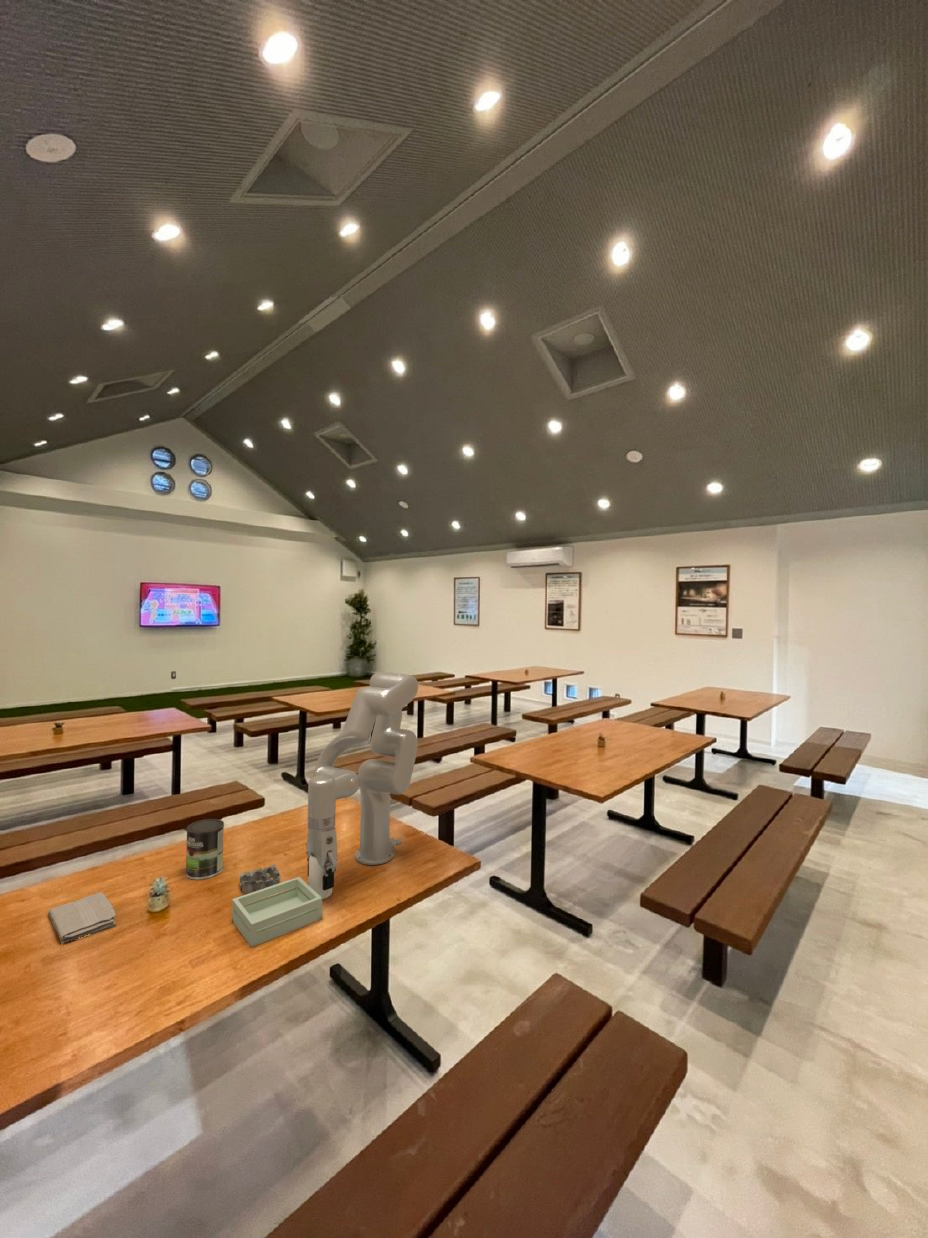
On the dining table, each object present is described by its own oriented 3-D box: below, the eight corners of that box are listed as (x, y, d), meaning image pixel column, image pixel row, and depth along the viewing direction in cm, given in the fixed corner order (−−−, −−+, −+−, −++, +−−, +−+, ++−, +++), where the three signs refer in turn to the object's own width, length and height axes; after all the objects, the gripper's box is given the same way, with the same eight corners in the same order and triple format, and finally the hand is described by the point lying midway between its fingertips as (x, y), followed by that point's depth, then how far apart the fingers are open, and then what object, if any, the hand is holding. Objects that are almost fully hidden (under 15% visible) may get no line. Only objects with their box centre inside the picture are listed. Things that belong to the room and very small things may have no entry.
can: (311, 888, 151) (311, 847, 151) (333, 888, 152) (334, 847, 151) (306, 901, 145) (306, 858, 144) (330, 900, 145) (330, 857, 145)
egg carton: (242, 897, 147) (242, 882, 146) (237, 884, 153) (237, 870, 153) (281, 886, 152) (281, 872, 152) (275, 875, 159) (275, 861, 158)
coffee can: (203, 883, 153) (203, 835, 153) (177, 875, 157) (178, 828, 156) (231, 867, 162) (231, 822, 162) (206, 860, 166) (207, 816, 166)
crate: (298, 896, 147) (299, 876, 147) (321, 918, 137) (322, 897, 136) (231, 920, 135) (232, 899, 135) (251, 947, 125) (251, 924, 124)
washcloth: (61, 948, 123) (61, 935, 123) (45, 917, 135) (46, 905, 135) (120, 926, 132) (120, 914, 132) (100, 899, 144) (100, 888, 144)
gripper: (348, 827, 144) (347, 890, 144) (319, 808, 157) (318, 866, 157) (323, 834, 139) (322, 899, 139) (295, 814, 152) (294, 874, 152)
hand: (320, 881), depth 148 cm, fingers open, 8 cm apart
